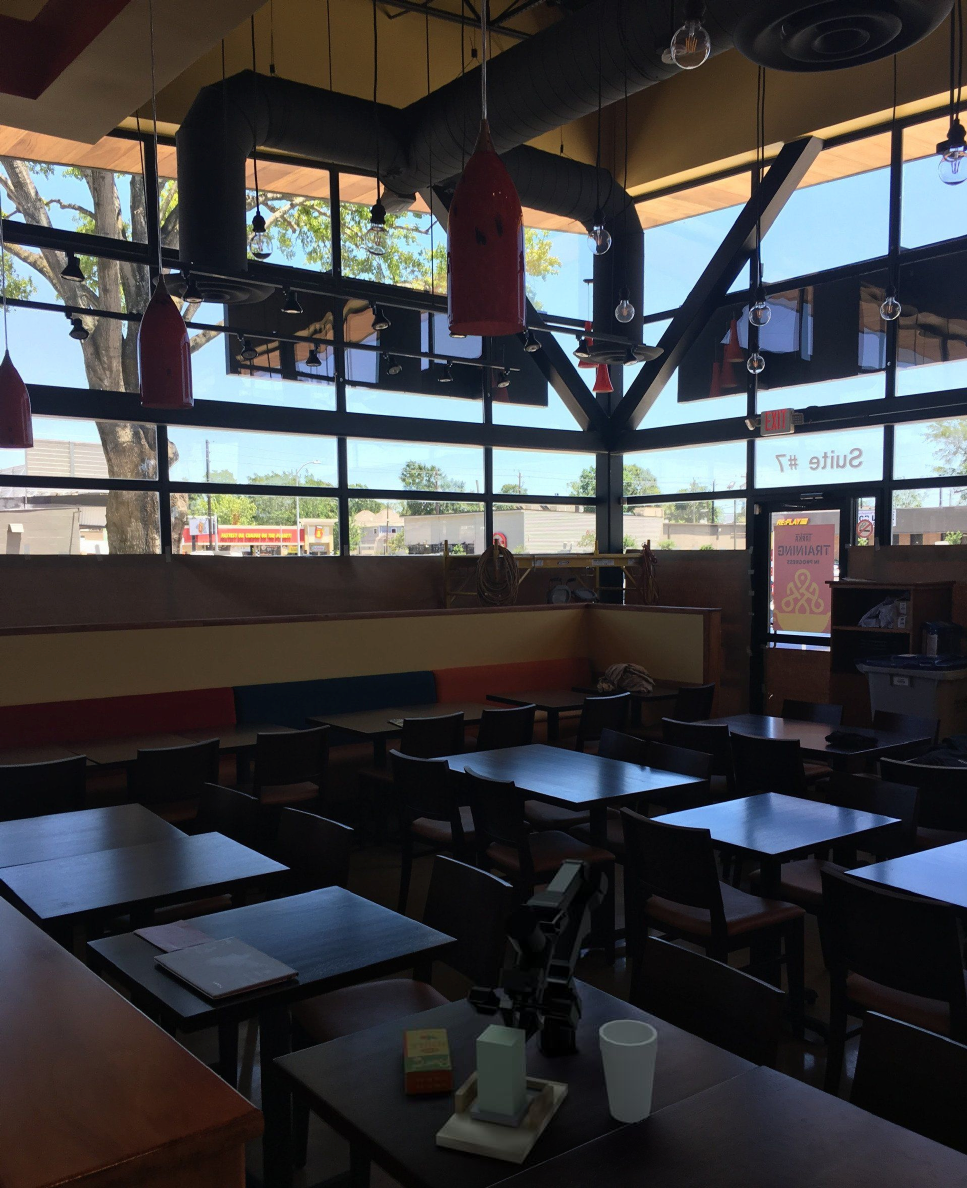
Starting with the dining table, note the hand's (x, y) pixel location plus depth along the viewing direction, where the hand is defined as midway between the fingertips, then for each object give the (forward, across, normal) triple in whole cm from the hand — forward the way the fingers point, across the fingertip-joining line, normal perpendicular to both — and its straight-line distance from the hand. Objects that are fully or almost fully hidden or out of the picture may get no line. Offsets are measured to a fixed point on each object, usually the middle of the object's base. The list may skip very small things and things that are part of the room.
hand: (510, 1058), depth 159 cm
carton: (+1, -19, +11) cm, 22 cm away
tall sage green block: (+7, 0, +2) cm, 7 cm away
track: (+8, 0, +4) cm, 9 cm away
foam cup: (+2, +18, +10) cm, 21 cm away
